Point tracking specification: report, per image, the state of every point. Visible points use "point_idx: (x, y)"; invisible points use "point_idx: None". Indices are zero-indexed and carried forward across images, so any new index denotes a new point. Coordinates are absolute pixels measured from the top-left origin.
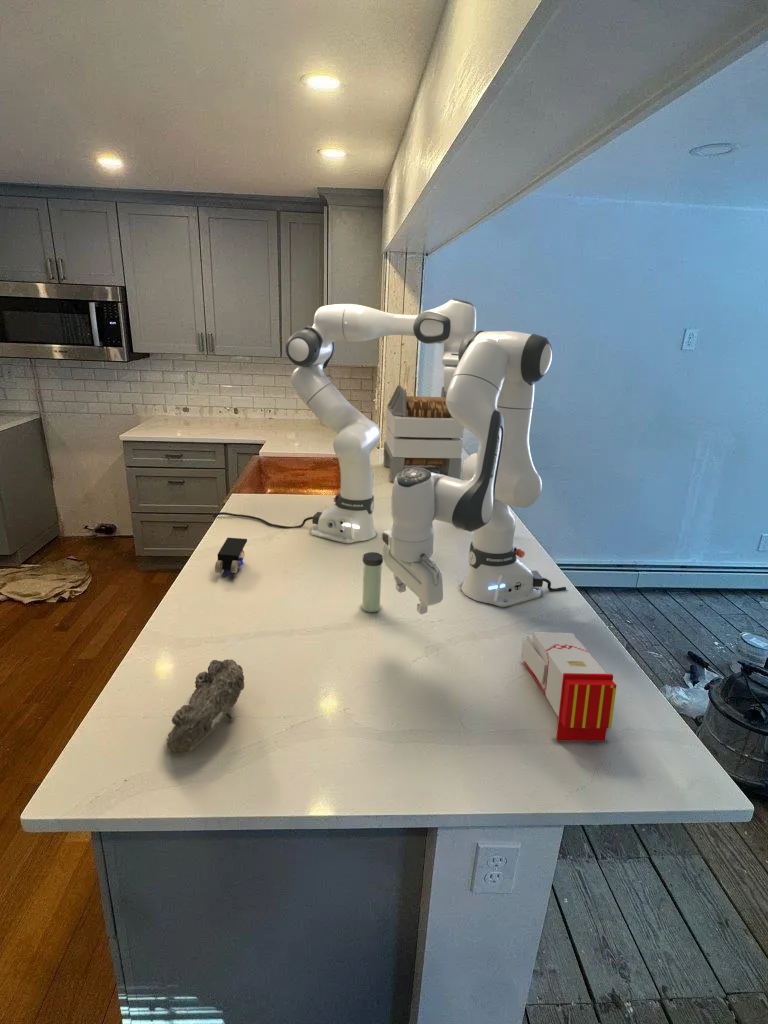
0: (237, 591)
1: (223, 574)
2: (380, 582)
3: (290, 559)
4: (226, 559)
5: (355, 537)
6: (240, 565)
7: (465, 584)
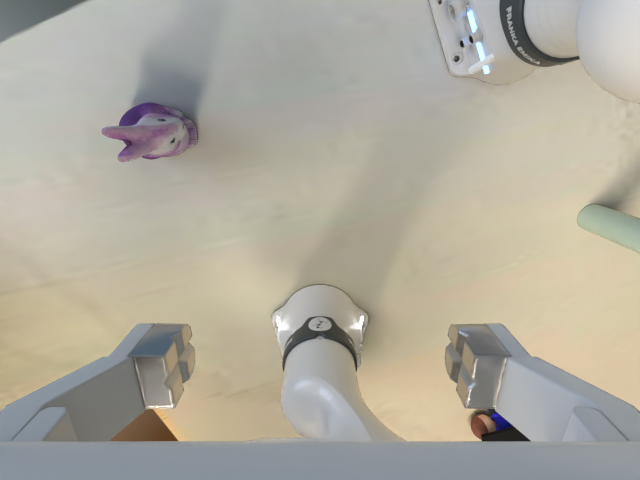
0: None
1: None
2: (634, 217)
3: None
4: None
5: (357, 311)
6: None
7: (527, 73)
